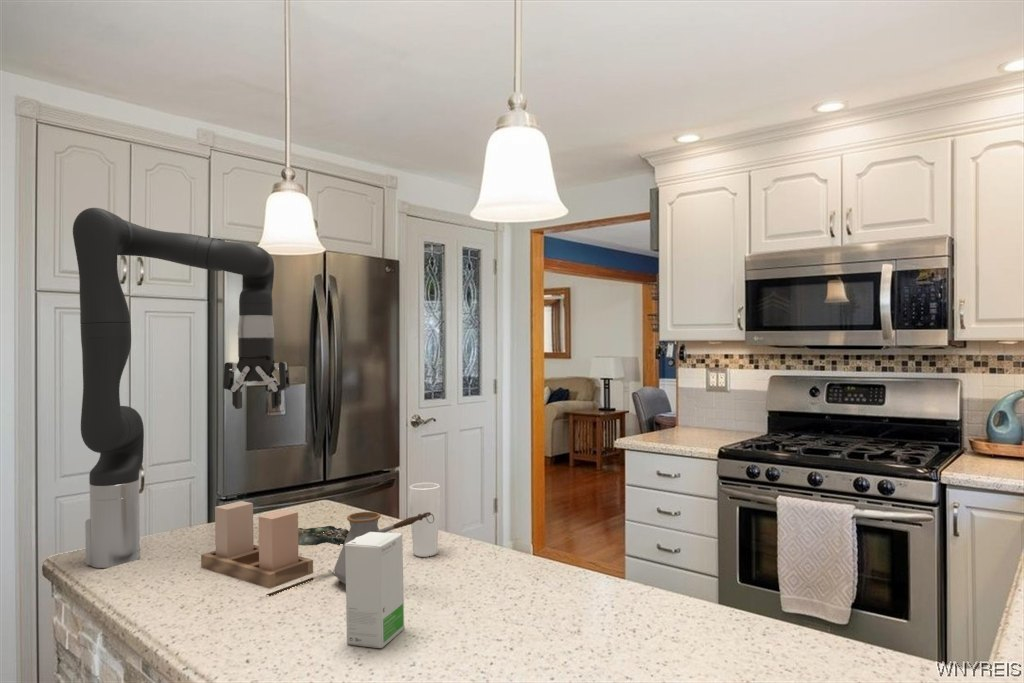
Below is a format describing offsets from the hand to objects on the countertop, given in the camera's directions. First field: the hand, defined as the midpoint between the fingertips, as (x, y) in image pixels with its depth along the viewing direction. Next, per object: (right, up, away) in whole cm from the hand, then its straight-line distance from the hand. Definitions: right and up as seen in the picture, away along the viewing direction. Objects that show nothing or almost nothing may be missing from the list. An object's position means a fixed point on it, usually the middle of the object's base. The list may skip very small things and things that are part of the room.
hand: (256, 408), depth 151 cm
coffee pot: (+33, -32, -22) cm, 51 cm away
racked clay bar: (0, -31, -13) cm, 33 cm away
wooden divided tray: (+6, -32, -17) cm, 37 cm away
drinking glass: (+38, -32, -3) cm, 50 cm away
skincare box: (+35, -32, -44) cm, 65 cm away
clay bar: (+12, -30, -21) cm, 39 cm away
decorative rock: (+11, -33, +7) cm, 35 cm away
